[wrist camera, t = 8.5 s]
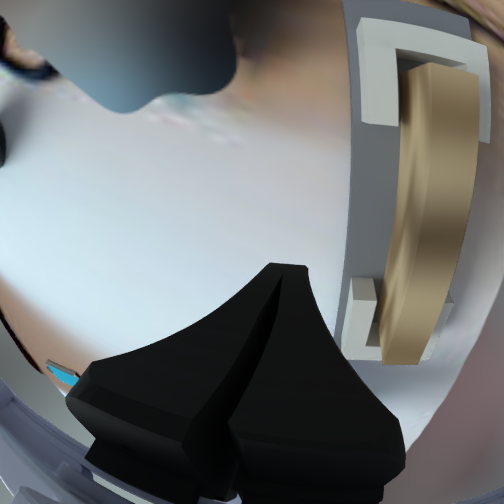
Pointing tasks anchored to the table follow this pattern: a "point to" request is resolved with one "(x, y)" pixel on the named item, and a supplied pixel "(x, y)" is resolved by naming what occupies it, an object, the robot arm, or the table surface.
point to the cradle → (389, 145)
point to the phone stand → (62, 373)
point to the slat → (428, 205)
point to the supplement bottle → (2, 146)
